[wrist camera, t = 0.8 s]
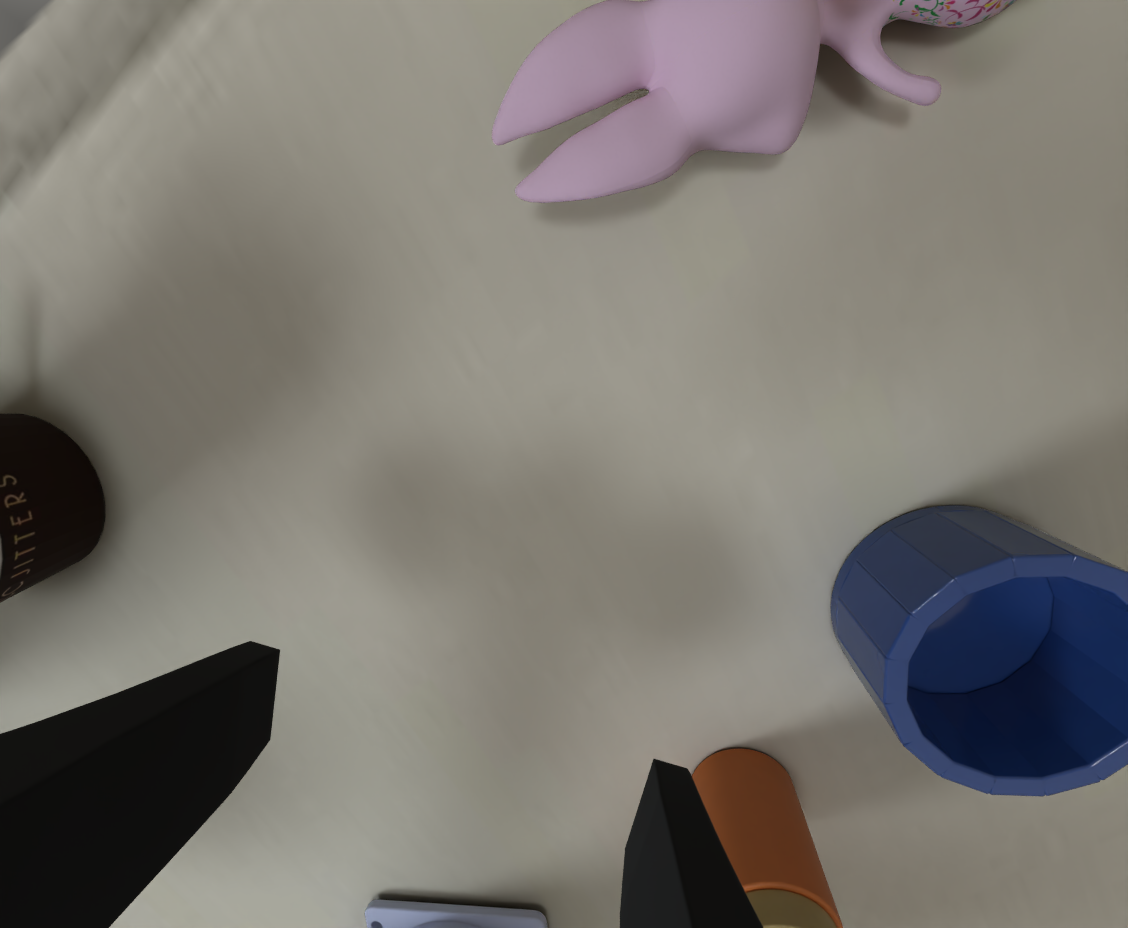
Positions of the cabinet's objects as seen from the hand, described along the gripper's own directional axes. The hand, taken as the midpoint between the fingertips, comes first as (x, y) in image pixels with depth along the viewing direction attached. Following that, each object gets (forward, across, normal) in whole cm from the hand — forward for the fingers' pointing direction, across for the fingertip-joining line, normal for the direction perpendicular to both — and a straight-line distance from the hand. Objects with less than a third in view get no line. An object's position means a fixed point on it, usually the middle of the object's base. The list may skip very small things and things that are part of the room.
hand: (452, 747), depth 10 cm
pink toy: (+10, -3, -16) cm, 19 cm away
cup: (+10, -13, -2) cm, 17 cm away
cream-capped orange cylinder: (+10, -9, +7) cm, 15 cm away
